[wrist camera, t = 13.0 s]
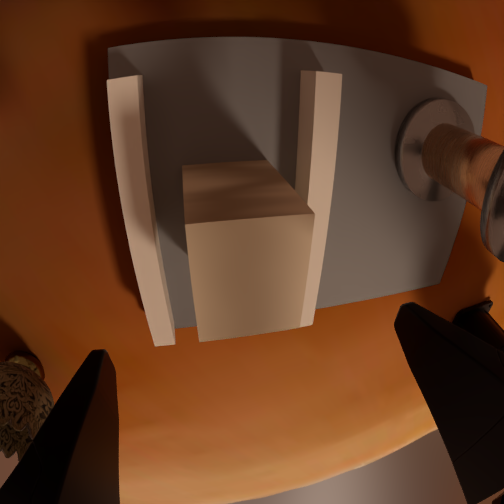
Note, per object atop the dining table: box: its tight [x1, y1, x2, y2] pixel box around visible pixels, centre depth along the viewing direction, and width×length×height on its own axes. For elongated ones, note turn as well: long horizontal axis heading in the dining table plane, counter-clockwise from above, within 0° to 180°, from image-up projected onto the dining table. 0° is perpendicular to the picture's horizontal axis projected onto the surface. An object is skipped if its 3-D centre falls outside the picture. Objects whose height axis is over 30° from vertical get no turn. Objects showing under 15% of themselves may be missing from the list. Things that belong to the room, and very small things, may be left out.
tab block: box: [182, 160, 315, 342], centre depth 13 cm, size 4×5×6 cm
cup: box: [0, 351, 54, 461], centre depth 17 cm, size 8×7×8 cm
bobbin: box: [395, 97, 504, 262], centre depth 13 cm, size 6×6×8 cm
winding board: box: [107, 37, 487, 346], centre depth 16 cm, size 22×16×3 cm
